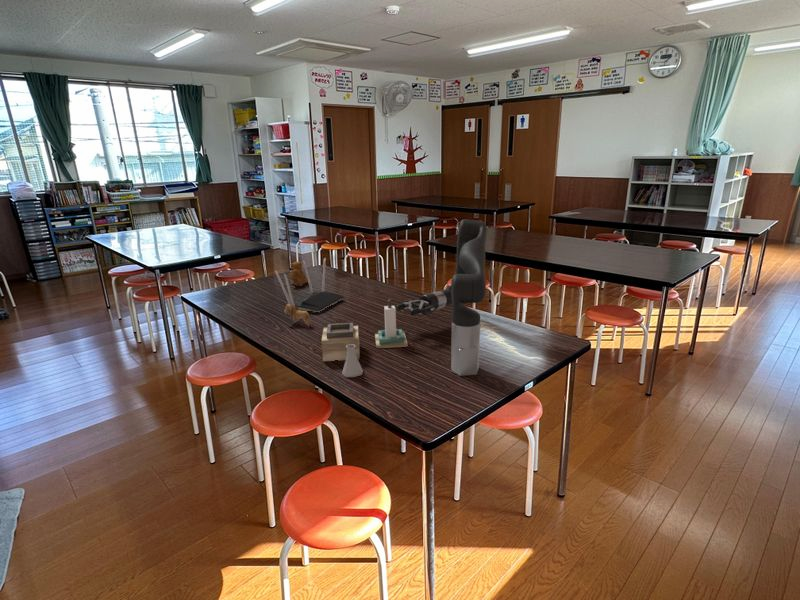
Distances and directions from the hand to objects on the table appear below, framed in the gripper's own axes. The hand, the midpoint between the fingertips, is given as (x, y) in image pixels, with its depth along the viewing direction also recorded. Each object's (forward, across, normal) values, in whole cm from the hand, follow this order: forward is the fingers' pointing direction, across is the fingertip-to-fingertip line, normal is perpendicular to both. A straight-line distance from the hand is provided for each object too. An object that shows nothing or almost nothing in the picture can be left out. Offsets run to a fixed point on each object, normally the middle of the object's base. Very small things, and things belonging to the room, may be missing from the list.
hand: (403, 310), depth 177 cm
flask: (+34, +12, +12) cm, 38 cm away
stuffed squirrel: (-7, -101, +11) cm, 101 cm away
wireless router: (+6, -63, +11) cm, 64 cm away
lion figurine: (+24, -42, +11) cm, 50 cm away
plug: (+7, 0, +10) cm, 12 cm away
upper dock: (+27, -4, +11) cm, 30 cm away
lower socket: (+7, 0, +11) cm, 13 cm away
